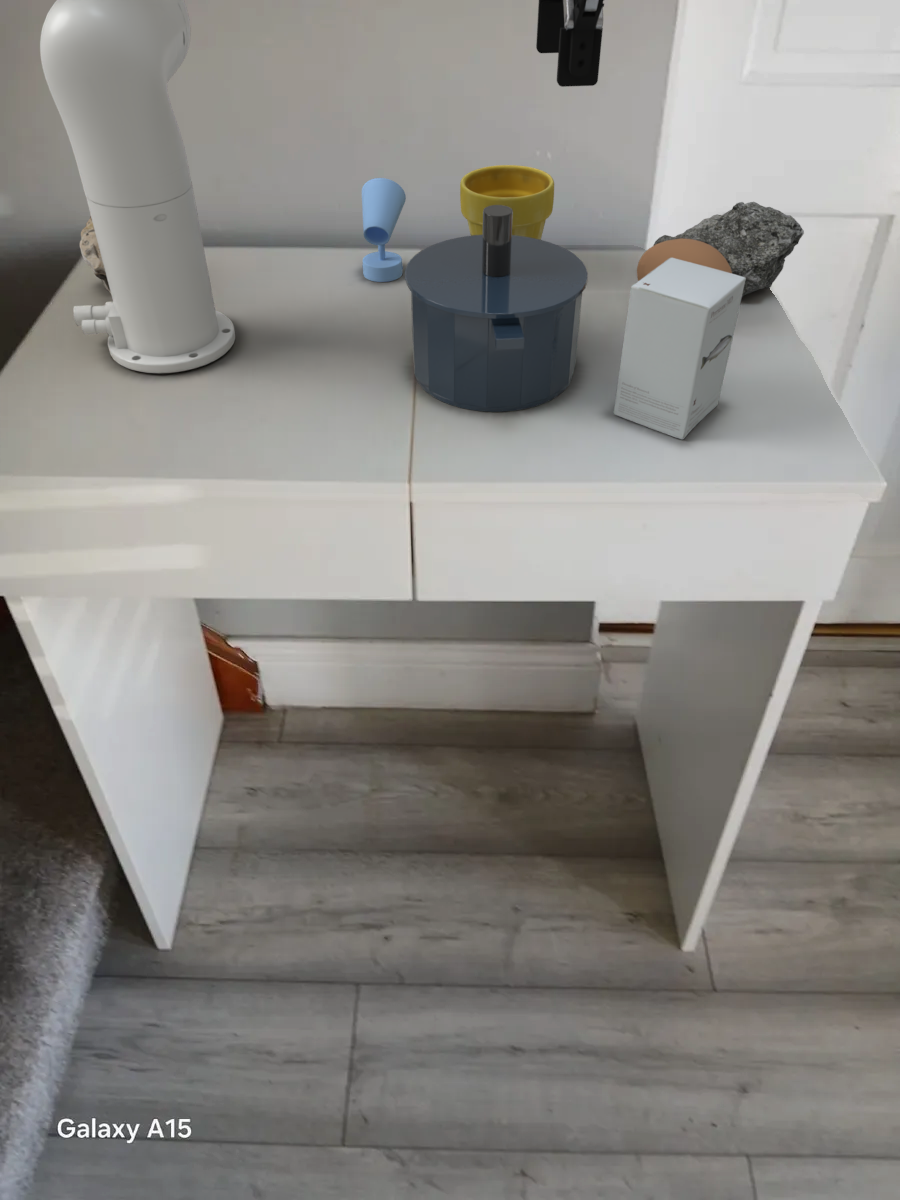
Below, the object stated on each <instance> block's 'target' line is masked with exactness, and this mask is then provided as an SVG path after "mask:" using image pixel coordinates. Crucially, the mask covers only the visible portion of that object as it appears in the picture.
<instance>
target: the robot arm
mask: <svg viewBox="0 0 900 1200" xmlns="http://www.w3.org/2000/svg"><path fill="white" fill-rule="evenodd" d="M604 1H605V0H538V9H537V23H536V24H537V27H536V44H535V45H536V50H537V52H538V53H539V54H557V69H556V83H557V85H558V86H559V87H563V88H564V87H593V86H595V85H597V83H598V81H599V71H600V62H601V51H602V40H603V30H604V28H603V26H604V7H605V3H604ZM41 27H42V28H41V32H40V39H39V52H40V53H39V55H40V61H41V68H42V72H43V75H44V78H45V81H46V85H47V87H48V90H49V93H50V95H51V97H52V100H53V102H54V105H55V107H56V109H57V111H58V114H59V116H60V119H61V121H62V124H63V126H64V129H65V131H66V134H67V137H68V140H69V143H70V146H71V149H72V153H73V156H74V159H75V162H76V166H77V170H78V173H79V174H78V175H79V177H80V181H81V186H82V189H83V193H84V196H85V199H86V203H87V206H88V210H89V214H90V216H91V218H92V222H93V226H94V230H95V234H96V238H97V241H98V245H99V249H100V253H101V257H102V261H103V265H104V268H105V272H106V276H107V280H108V284H109V288H110V291H111V293H110V295H111V299H112V301H105V303H104V305H93V304H88V305H84V304H83V305H74V306H73V310H72V312H73V320H74V322H75V324H76V326H77V327H79V326H81V331H82V333H83V334H84V335H97V334H106V333H107V335H108V337H107V348H108V351H109V354H110V356H111V357H112V359H113V360H114V361H115V362H116V363H117V364H118V365H121V366H122V367H124V368H126V369H129V370H131V371H136V372H141V373H147V374H172V373H179V372H181V373H182V372H186V371H190V370H195V369H197V368H201V367H203V366H206V365H208V364H210V363H213V362H215V361H217V360H218V359H220V358H222V357H223V356H224V355H226V353H227V352H228V351H230V350H231V348H232V347H233V345H234V344H235V340H236V331H235V326H234V323H233V321H232V319H230V318H229V316H228V315H226V314H224V313H223V312H221V311H219V310H216V307H215V301H214V295H213V290H212V285H211V279H210V273H209V268H208V262H207V258H206V252H205V246H204V241H203V236H202V230H201V225H200V220H199V216H198V215H199V213H198V209H197V203H196V197H195V192H194V187H193V181H192V177H191V173H190V172H191V171H190V167H189V166H190V165H189V160H188V157H187V152H186V147H185V144H184V139H183V137H182V136H183V135H182V134H181V130H180V127H179V124H178V121H177V118H176V116H175V115H176V114H175V112H174V109H173V106H172V103H171V100H170V96H169V89H168V83H169V81H170V80H171V79H172V78H173V76H174V75H175V74H176V73H177V71H178V70H179V68H180V67H181V66H182V65H183V62H184V61H185V59H186V57H187V55H188V52H189V48H190V44H191V36H192V33H191V32H192V28H191V27H192V26H191V20H190V14H189V10H188V8H187V4H186V2H185V0H55V1H54V3H53V4H52V6H51V7H50V8H49V10H48V12H47V14H46V17H45V18H44V22H43V23H42V26H41Z"/></svg>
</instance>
